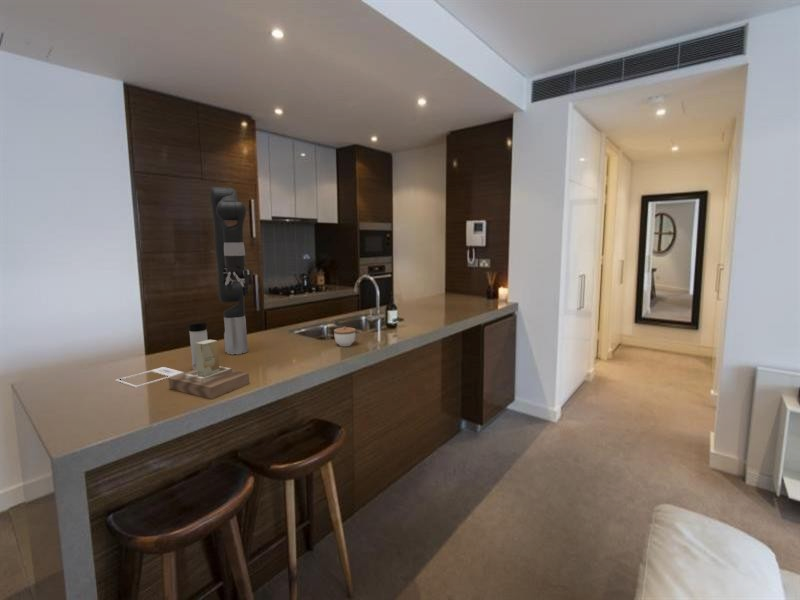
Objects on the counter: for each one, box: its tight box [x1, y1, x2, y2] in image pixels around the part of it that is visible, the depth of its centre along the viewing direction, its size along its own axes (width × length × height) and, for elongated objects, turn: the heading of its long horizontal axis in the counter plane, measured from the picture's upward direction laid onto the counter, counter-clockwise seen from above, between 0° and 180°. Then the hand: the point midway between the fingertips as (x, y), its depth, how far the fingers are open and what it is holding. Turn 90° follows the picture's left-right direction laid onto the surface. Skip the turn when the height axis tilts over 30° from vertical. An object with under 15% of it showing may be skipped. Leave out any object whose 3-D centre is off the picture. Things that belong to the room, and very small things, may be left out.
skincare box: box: [195, 339, 220, 377], centre depth 144 cm, size 6×4×12 cm
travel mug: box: [188, 322, 209, 370], centre depth 162 cm, size 6×7×20 cm
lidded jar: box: [333, 325, 357, 347], centre depth 199 cm, size 11×11×9 cm
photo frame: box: [114, 366, 185, 389], centre depth 156 cm, size 15×1×18 cm
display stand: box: [167, 365, 250, 400], centre depth 145 cm, size 22×16×6 cm
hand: (237, 295), depth 160 cm, fingers open, 8 cm apart
